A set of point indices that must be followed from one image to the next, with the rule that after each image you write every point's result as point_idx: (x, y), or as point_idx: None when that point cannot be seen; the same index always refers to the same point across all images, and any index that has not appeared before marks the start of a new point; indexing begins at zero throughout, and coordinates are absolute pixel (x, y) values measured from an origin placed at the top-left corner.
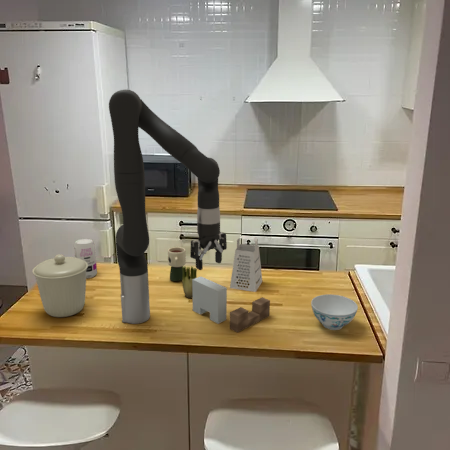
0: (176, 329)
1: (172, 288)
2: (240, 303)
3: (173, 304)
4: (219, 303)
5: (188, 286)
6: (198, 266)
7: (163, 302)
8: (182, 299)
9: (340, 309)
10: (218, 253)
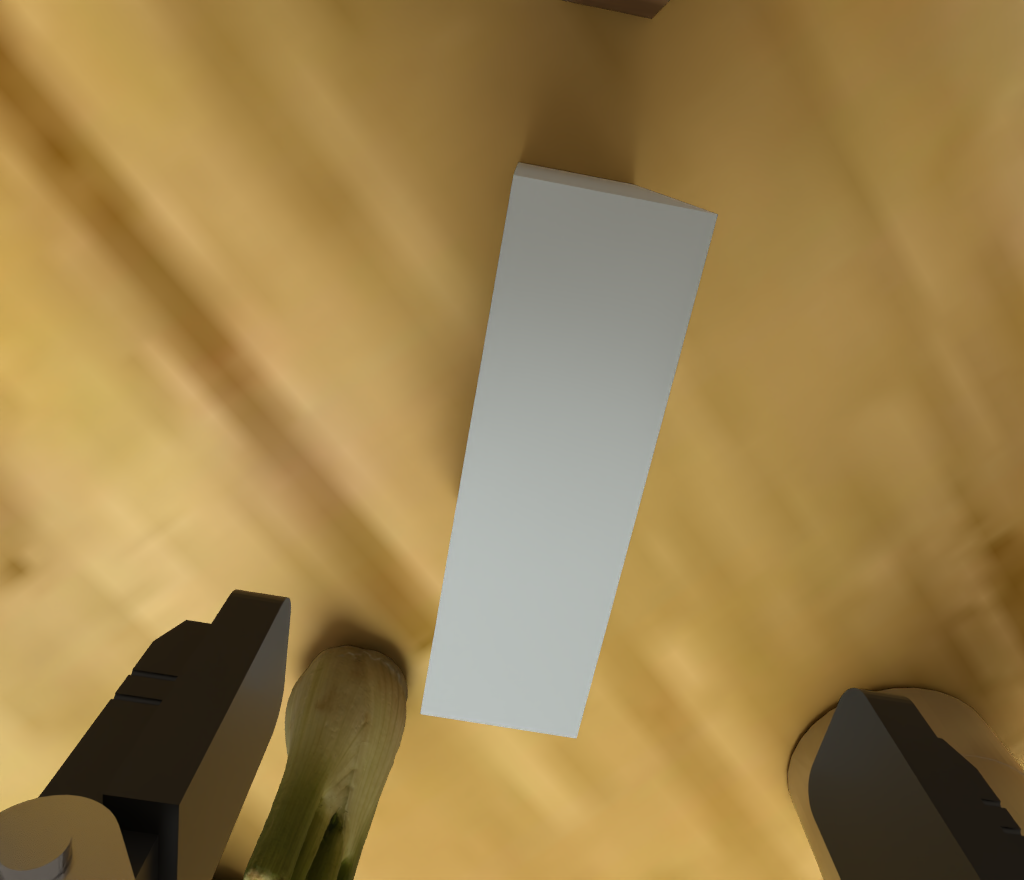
0: (909, 430)
1: None
2: (148, 249)
3: None
4: (647, 193)
5: (379, 754)
6: (994, 797)
7: (581, 767)
8: None
9: None
10: (180, 845)
